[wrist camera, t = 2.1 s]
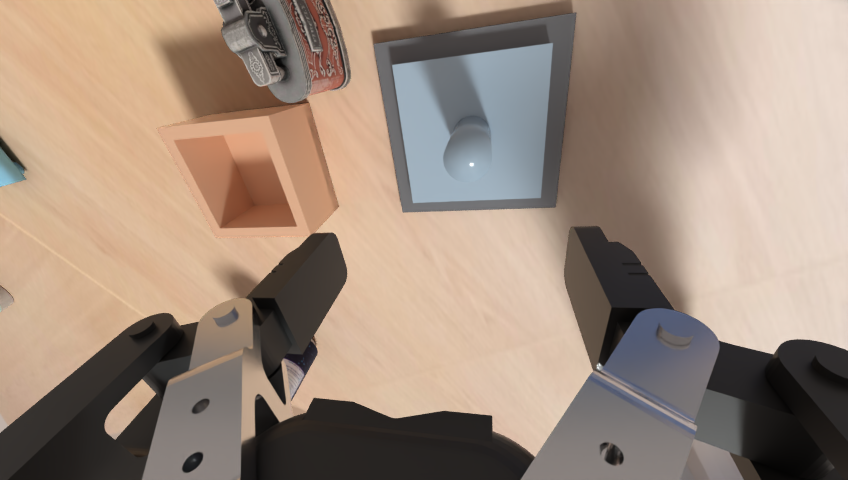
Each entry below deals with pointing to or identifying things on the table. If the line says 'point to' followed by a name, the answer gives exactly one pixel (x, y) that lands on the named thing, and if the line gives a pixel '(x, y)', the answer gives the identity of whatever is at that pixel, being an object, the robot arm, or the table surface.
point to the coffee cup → (5, 299)
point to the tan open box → (255, 171)
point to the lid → (475, 124)
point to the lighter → (287, 45)
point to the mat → (479, 41)
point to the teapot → (9, 170)
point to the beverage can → (299, 366)
